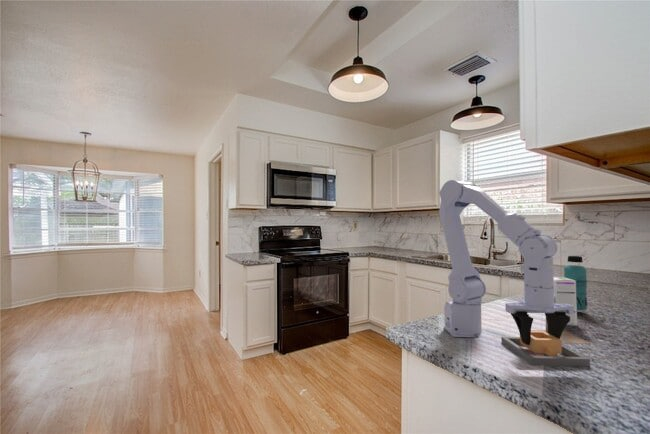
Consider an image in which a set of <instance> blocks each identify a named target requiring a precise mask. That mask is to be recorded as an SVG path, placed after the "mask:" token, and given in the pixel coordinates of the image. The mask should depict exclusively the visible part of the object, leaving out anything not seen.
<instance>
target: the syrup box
mask: <svg viewBox="0 0 650 434" xmlns="http://www.w3.org/2000/svg"><path fill="white" fill-rule="evenodd" d="M554 303H559V304H569V305H572V306H574V314H568V313H566V315H567V316H570V322H569V323H568V324H567V325H566V326H578V312H577V311H578V310H577V304H576V281H575V280H571V279H568V278H564V276H554Z"/></svg>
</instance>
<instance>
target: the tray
mask: <svg viewBox="0 0 650 434" xmlns="http://www.w3.org/2000/svg"><path fill="white" fill-rule="evenodd" d="M501 344H502V345H504V346H505V347H506V348H508V349H509V350H511V351H512V352H513V353H515V355H518V357H520V358H522V359H523V360H524V361H526V362H527V363H528V364H530V365H531V366H549V367H550V366H552V367H553V366H554V367H557V366H559V367H591V359H590V358H589V357H586V355H583V354H581V353H579V352H578V351H576V350H574V349H572V348H570V347H568V346H567V345H565V344H564V343H562V355H565V356H559V355H558V356H548V355H533V354H531V353H530V352H528V351H527V350H525V349H524V348H523V347H521V345H522V344H521V343H520V336H501ZM522 346H523V345H522ZM567 371H569V370H567Z"/></svg>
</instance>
